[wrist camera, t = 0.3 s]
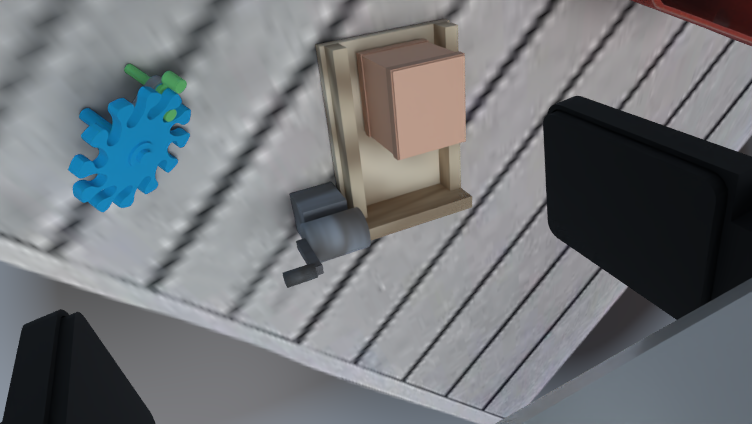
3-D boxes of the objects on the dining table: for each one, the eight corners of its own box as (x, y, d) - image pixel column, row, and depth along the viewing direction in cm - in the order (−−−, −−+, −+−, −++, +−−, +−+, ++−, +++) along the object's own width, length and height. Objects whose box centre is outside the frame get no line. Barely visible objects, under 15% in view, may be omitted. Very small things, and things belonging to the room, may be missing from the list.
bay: (217, 64, 42) (245, 99, 33) (443, 18, 48) (514, 39, 39) (262, 246, 50) (293, 309, 42) (449, 188, 56) (508, 233, 48)
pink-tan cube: (354, 51, 44) (391, 70, 39) (421, 37, 46) (465, 54, 41) (364, 133, 48) (398, 161, 42) (425, 117, 50) (466, 142, 44)
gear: (144, 222, 43) (55, 209, 33) (90, 181, 44) (-13, 156, 34) (223, 108, 43) (158, 61, 33) (168, 70, 44) (88, 13, 34)
